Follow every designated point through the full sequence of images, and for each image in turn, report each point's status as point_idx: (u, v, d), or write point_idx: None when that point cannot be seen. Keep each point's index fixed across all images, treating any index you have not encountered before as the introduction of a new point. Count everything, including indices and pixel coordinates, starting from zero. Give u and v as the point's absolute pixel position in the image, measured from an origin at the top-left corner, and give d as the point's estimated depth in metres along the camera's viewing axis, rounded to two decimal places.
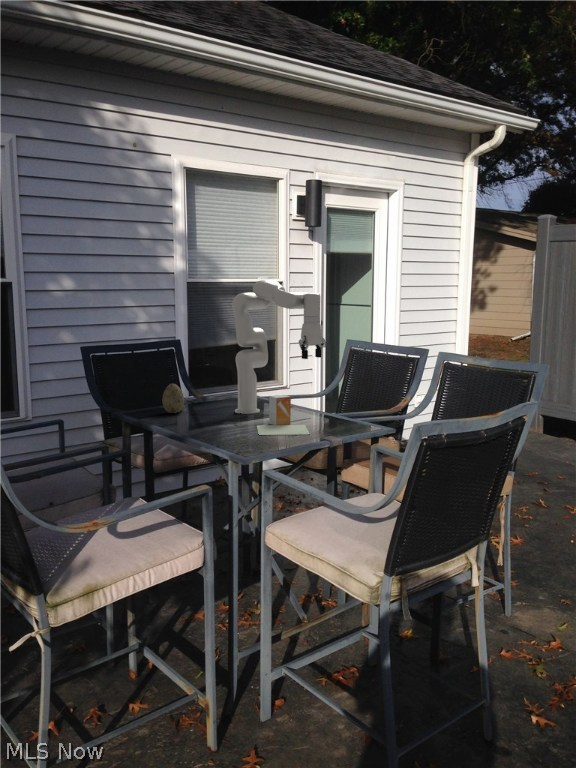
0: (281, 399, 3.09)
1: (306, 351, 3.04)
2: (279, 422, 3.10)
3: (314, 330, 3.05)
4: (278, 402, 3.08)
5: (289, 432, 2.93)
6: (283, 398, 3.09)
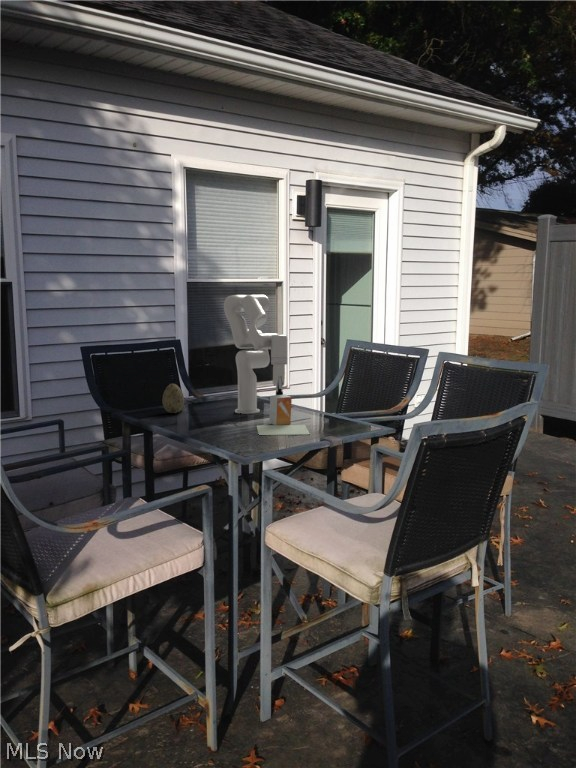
0: (282, 399, 3.08)
1: (282, 393, 3.16)
2: (279, 422, 3.10)
3: None
4: (279, 402, 3.08)
5: (289, 432, 2.93)
6: (284, 398, 3.09)
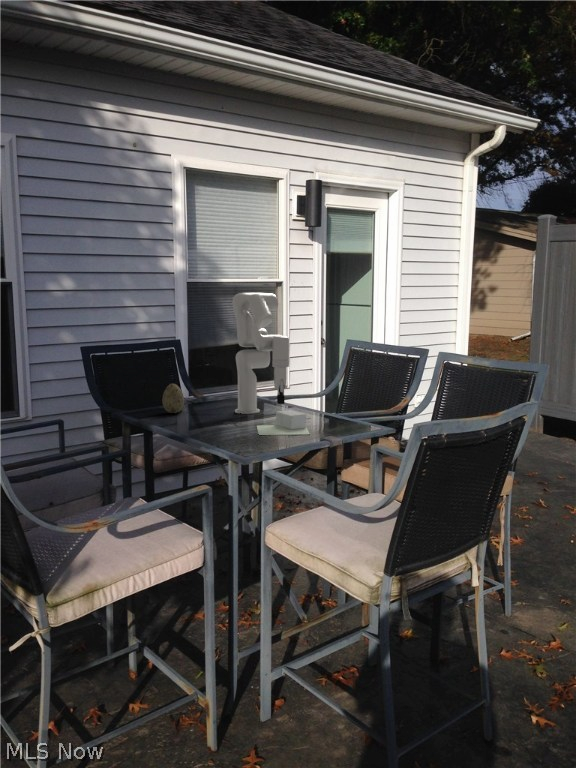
0: (295, 428, 3.01)
1: (283, 396, 3.07)
2: None
3: (286, 373, 3.05)
4: (290, 428, 3.01)
5: (289, 432, 2.93)
6: (297, 428, 3.01)
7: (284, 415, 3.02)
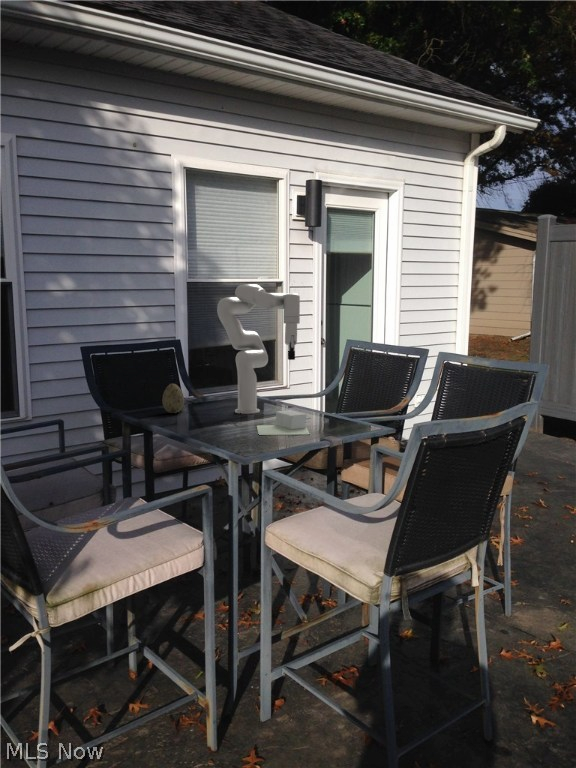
0: (295, 428, 3.01)
1: (294, 352, 3.17)
2: None
3: None
4: (290, 428, 3.01)
5: (289, 432, 2.93)
6: (297, 428, 3.01)
7: (284, 415, 3.02)
